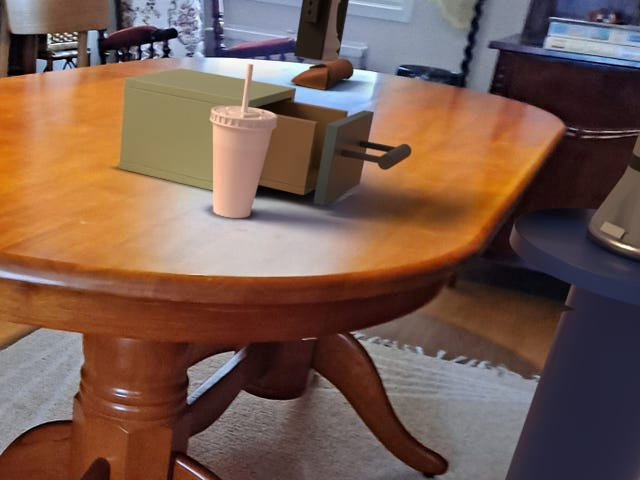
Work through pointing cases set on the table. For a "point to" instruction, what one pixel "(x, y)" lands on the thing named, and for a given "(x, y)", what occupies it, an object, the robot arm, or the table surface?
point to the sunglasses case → (325, 74)
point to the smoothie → (239, 153)
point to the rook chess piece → (331, 36)
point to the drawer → (321, 150)
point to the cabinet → (181, 121)
